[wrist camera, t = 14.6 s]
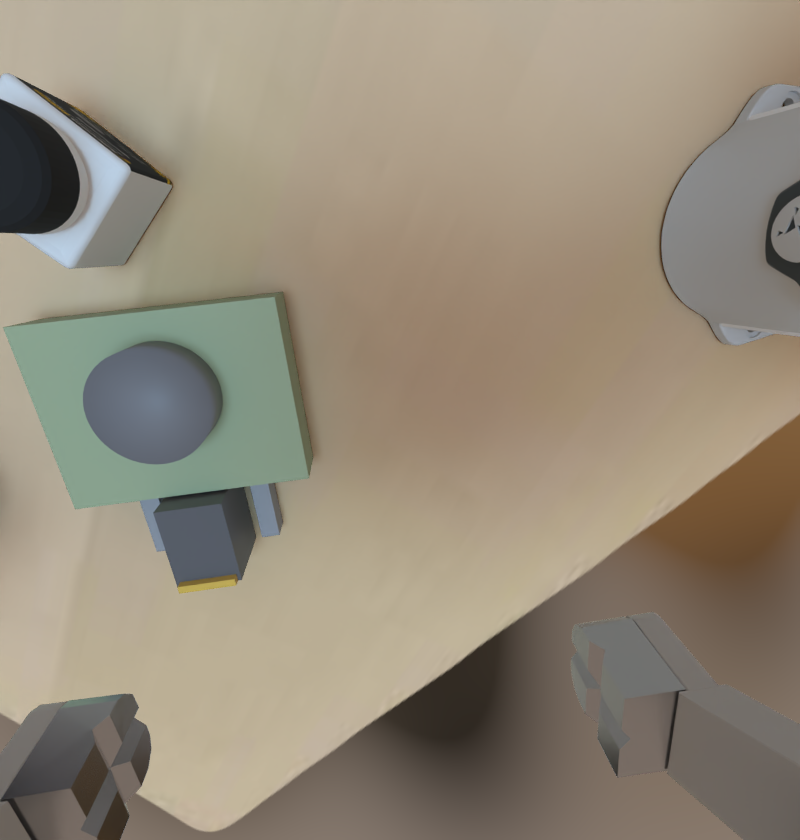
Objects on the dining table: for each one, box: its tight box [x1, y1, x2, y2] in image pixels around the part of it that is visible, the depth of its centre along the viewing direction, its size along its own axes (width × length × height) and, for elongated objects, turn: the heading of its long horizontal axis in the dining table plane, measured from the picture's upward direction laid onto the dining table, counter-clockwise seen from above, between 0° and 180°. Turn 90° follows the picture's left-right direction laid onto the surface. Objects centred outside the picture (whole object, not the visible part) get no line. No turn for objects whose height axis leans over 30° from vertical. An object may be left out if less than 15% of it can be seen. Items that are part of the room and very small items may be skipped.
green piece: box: [3, 292, 313, 552], centre depth 36 cm, size 18×20×7 cm
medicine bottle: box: [0, 73, 172, 269], centre depth 27 cm, size 7×7×12 cm
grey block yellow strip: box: [153, 487, 256, 594], centre depth 39 cm, size 5×7×7 cm
